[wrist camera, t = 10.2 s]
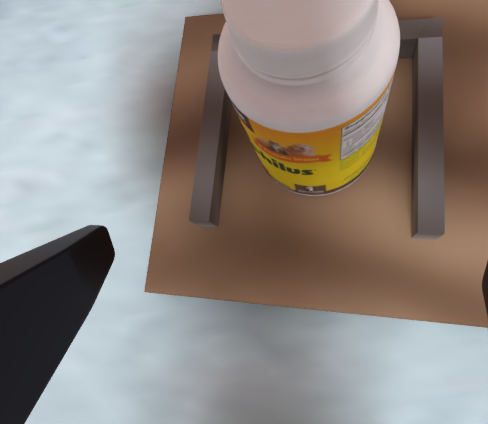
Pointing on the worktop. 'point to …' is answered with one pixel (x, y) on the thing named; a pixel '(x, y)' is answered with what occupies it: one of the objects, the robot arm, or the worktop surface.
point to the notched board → (341, 202)
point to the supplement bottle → (310, 84)
